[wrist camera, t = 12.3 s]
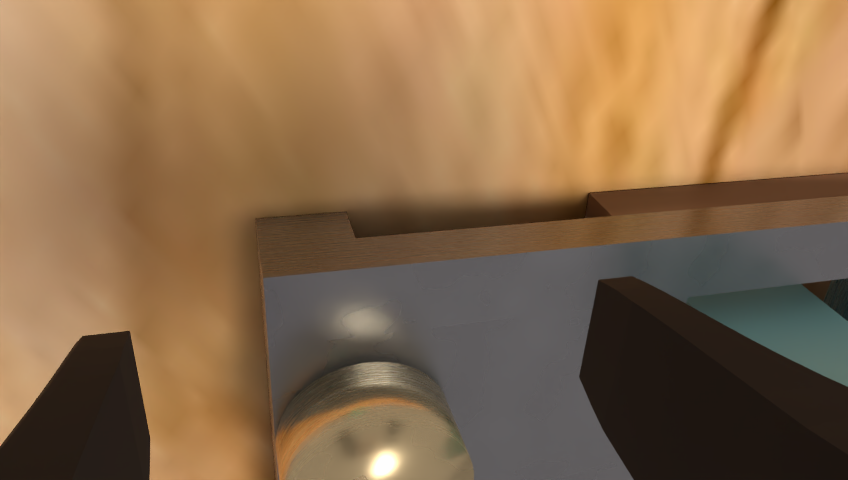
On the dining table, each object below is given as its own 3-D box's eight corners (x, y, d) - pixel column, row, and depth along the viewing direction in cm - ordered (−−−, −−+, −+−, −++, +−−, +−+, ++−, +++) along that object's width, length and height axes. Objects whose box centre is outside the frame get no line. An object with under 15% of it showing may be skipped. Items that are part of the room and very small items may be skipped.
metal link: (787, 410, 31) (887, 515, 26) (276, 496, 26) (292, 643, 21) (882, 170, 25) (1030, 250, 21) (255, 219, 20) (270, 339, 16)
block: (739, 360, 28) (933, 561, 21) (635, 376, 27) (799, 593, 20) (772, 261, 26) (1003, 446, 19) (660, 273, 25) (857, 475, 17)
